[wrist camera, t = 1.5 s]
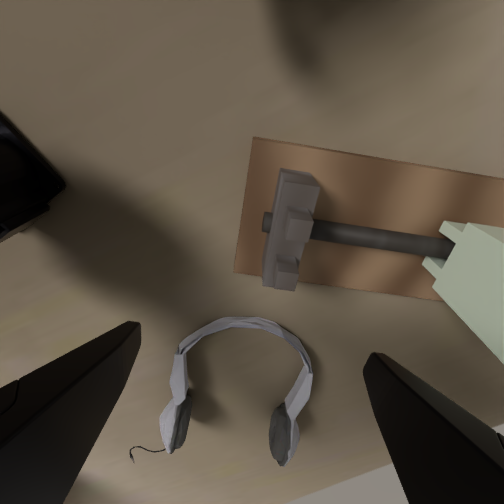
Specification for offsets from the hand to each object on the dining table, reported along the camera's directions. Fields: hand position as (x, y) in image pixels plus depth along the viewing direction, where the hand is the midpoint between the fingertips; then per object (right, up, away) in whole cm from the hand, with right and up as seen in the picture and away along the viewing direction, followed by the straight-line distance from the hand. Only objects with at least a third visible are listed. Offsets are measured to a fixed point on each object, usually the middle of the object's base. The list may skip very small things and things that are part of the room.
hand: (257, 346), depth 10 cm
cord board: (+13, +4, +12) cm, 18 cm away
